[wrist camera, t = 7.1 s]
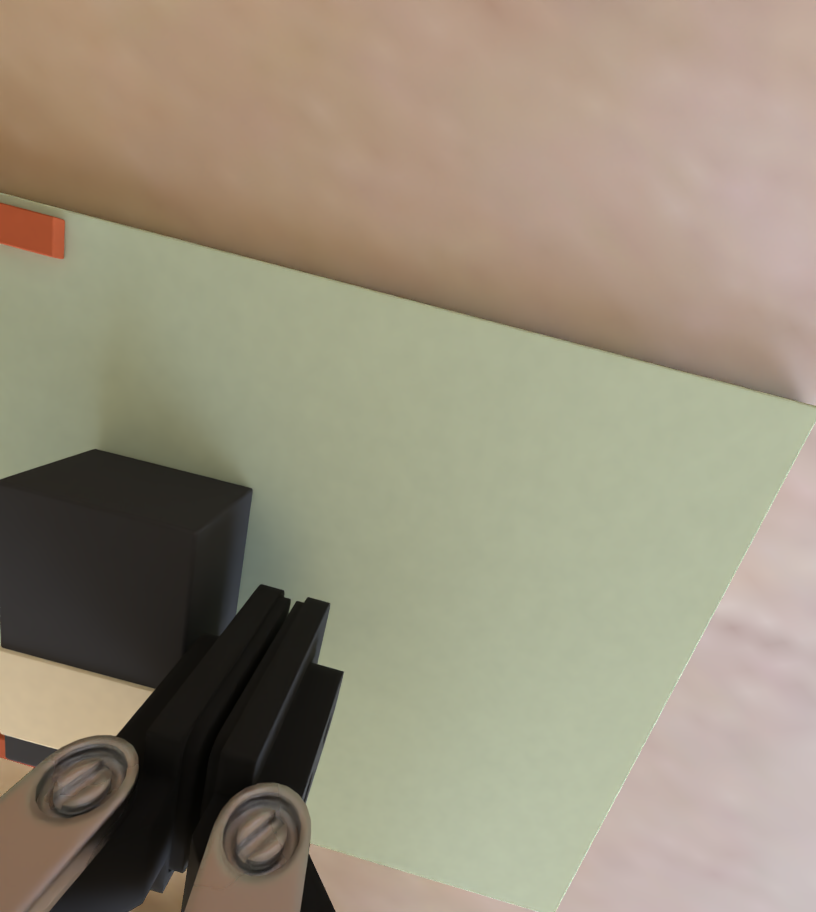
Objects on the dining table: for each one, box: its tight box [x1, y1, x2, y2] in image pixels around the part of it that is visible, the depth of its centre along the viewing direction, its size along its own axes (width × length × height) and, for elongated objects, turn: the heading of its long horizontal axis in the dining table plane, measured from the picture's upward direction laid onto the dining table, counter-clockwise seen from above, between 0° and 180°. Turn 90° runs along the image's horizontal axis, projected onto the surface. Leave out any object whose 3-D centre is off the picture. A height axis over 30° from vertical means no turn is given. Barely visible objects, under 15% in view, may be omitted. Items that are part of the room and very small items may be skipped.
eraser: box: [0, 449, 253, 767], centre depth 10 cm, size 7×4×3 cm, turn 167°
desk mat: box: [0, 193, 816, 912], centre depth 12 cm, size 16×28×1 cm, turn 76°
